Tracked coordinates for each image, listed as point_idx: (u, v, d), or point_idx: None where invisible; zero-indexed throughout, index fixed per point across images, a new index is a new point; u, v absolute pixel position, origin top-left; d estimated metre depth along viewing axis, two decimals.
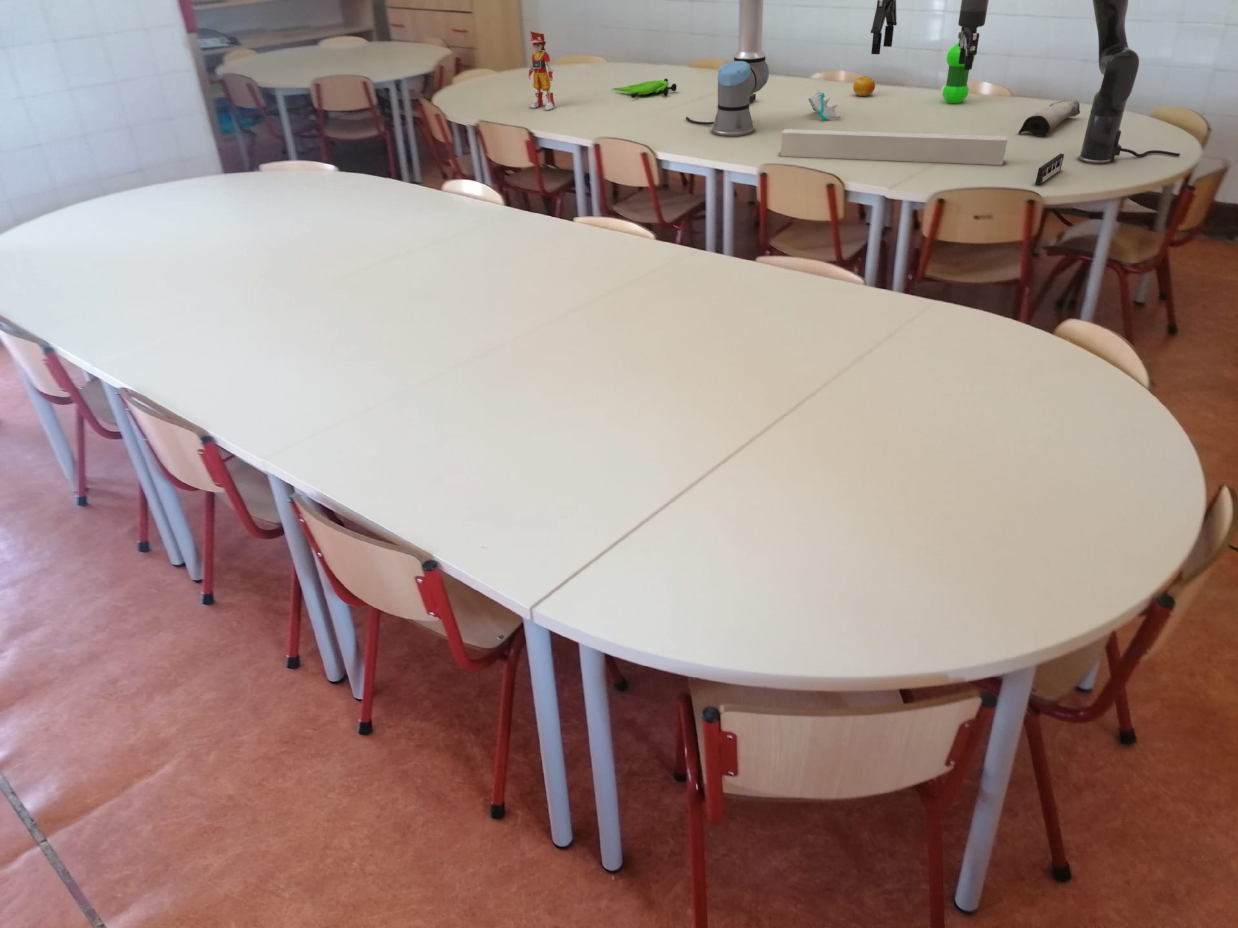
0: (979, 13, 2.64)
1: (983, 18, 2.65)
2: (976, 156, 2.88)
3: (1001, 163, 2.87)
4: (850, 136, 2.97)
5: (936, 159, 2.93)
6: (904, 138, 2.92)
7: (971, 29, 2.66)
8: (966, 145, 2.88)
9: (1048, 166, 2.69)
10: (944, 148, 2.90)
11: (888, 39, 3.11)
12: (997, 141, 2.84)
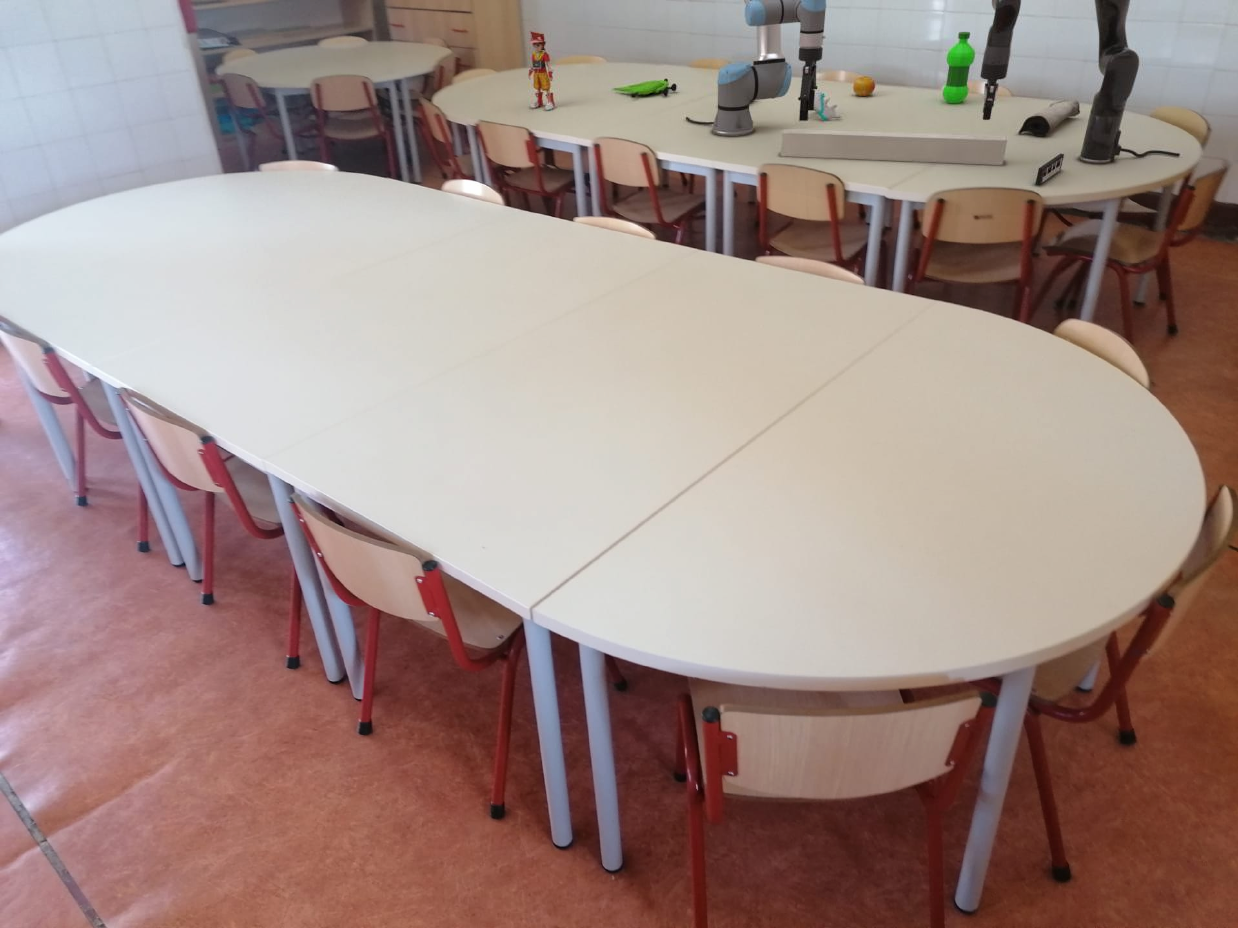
0: (999, 66, 2.71)
1: (1003, 71, 2.72)
2: (976, 156, 2.88)
3: (1001, 163, 2.87)
4: (850, 136, 2.97)
5: (936, 159, 2.93)
6: (904, 138, 2.92)
7: (990, 81, 2.74)
8: (966, 145, 2.88)
9: (1048, 166, 2.69)
10: (944, 148, 2.90)
11: (810, 103, 3.04)
12: (997, 141, 2.84)
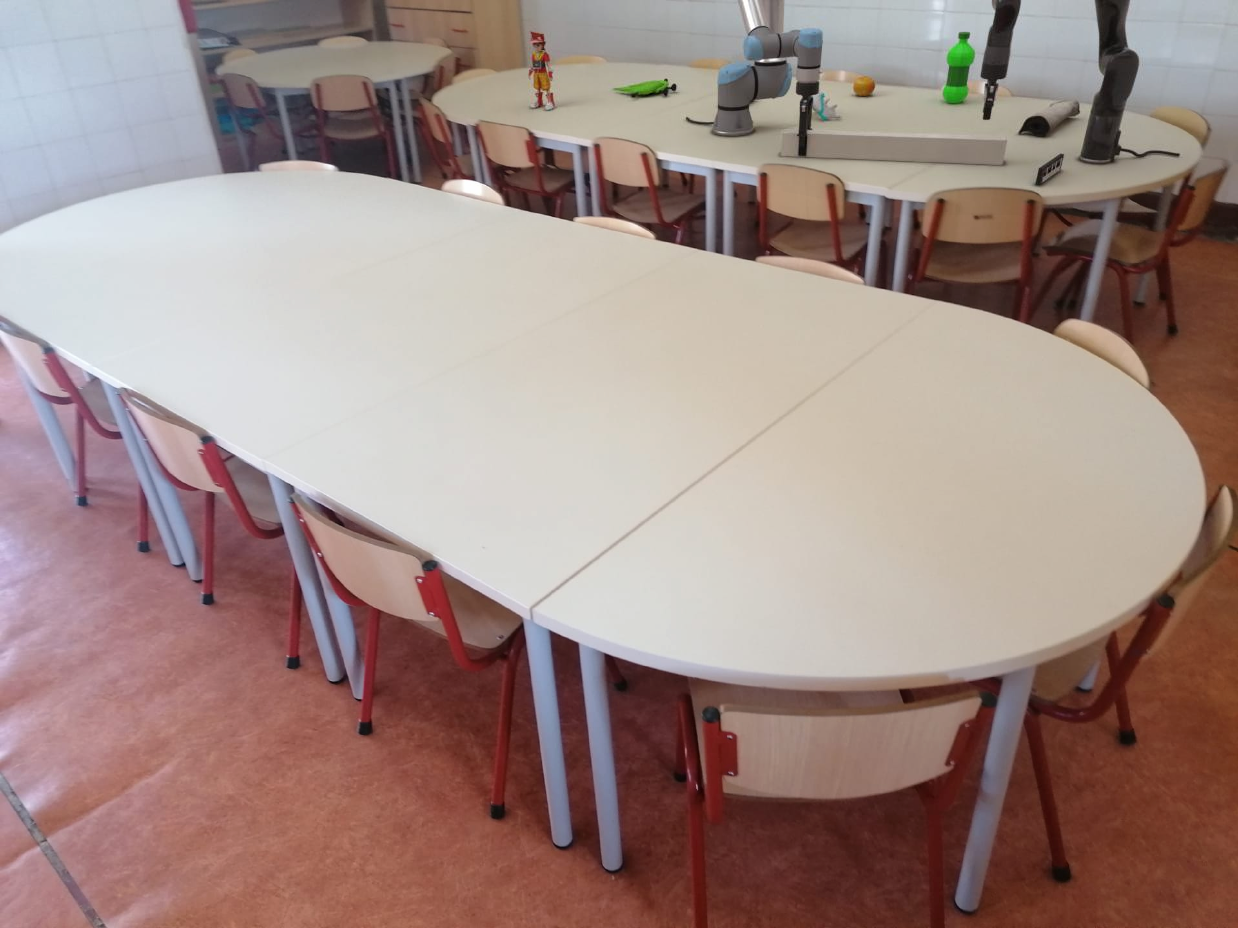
0: (999, 66, 2.71)
1: (1003, 71, 2.72)
2: (976, 156, 2.88)
3: (1001, 163, 2.87)
4: (850, 136, 2.97)
5: (936, 159, 2.93)
6: (904, 138, 2.92)
7: (990, 81, 2.74)
8: (966, 145, 2.88)
9: (1048, 166, 2.69)
10: (944, 148, 2.90)
11: None
12: (997, 141, 2.84)
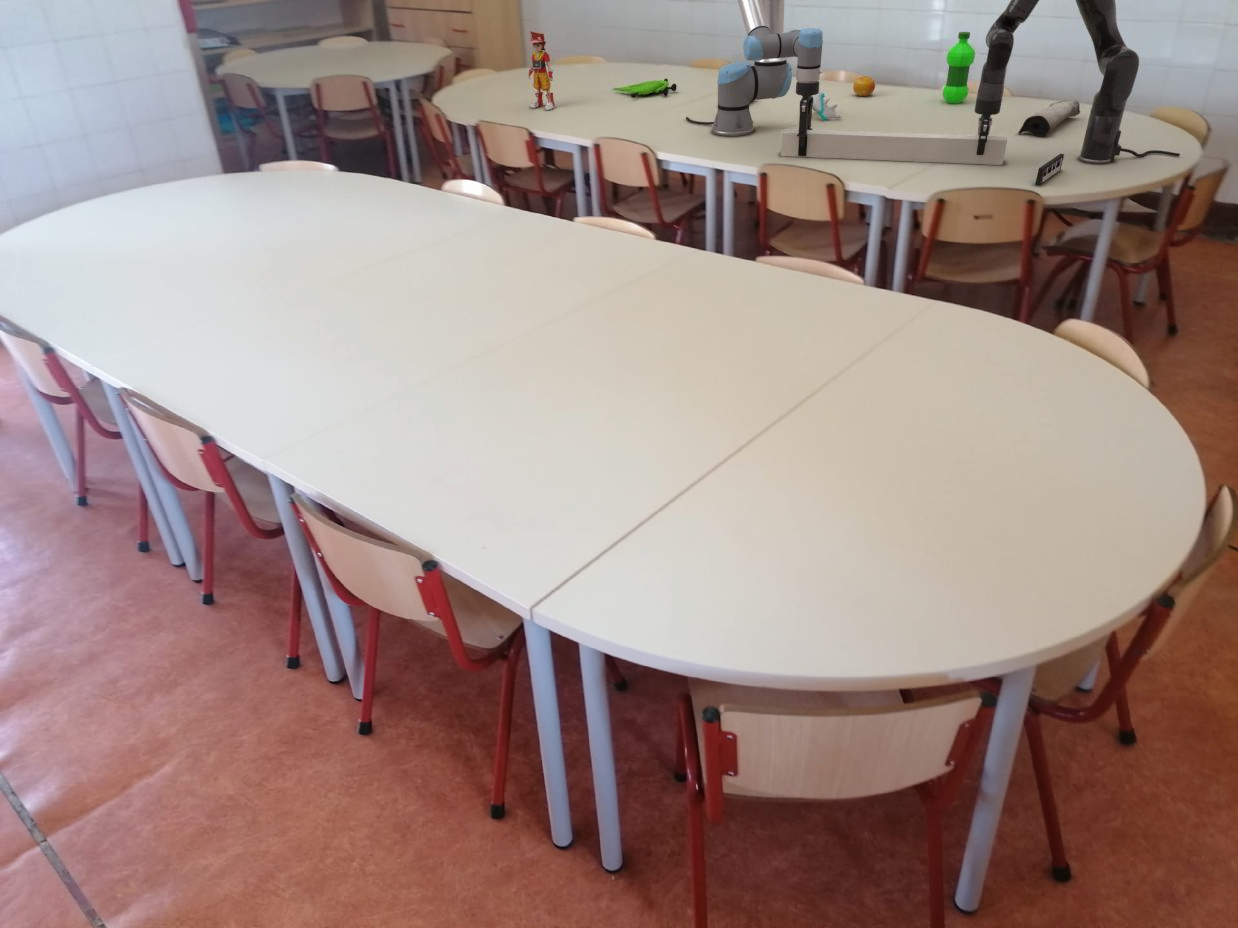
0: (992, 102, 2.77)
1: (997, 107, 2.78)
2: (976, 156, 2.88)
3: (1001, 163, 2.87)
4: (850, 136, 2.97)
5: (936, 159, 2.93)
6: (904, 138, 2.92)
7: (984, 117, 2.80)
8: (966, 145, 2.88)
9: (1048, 166, 2.69)
10: (944, 148, 2.90)
11: None
12: (997, 141, 2.84)
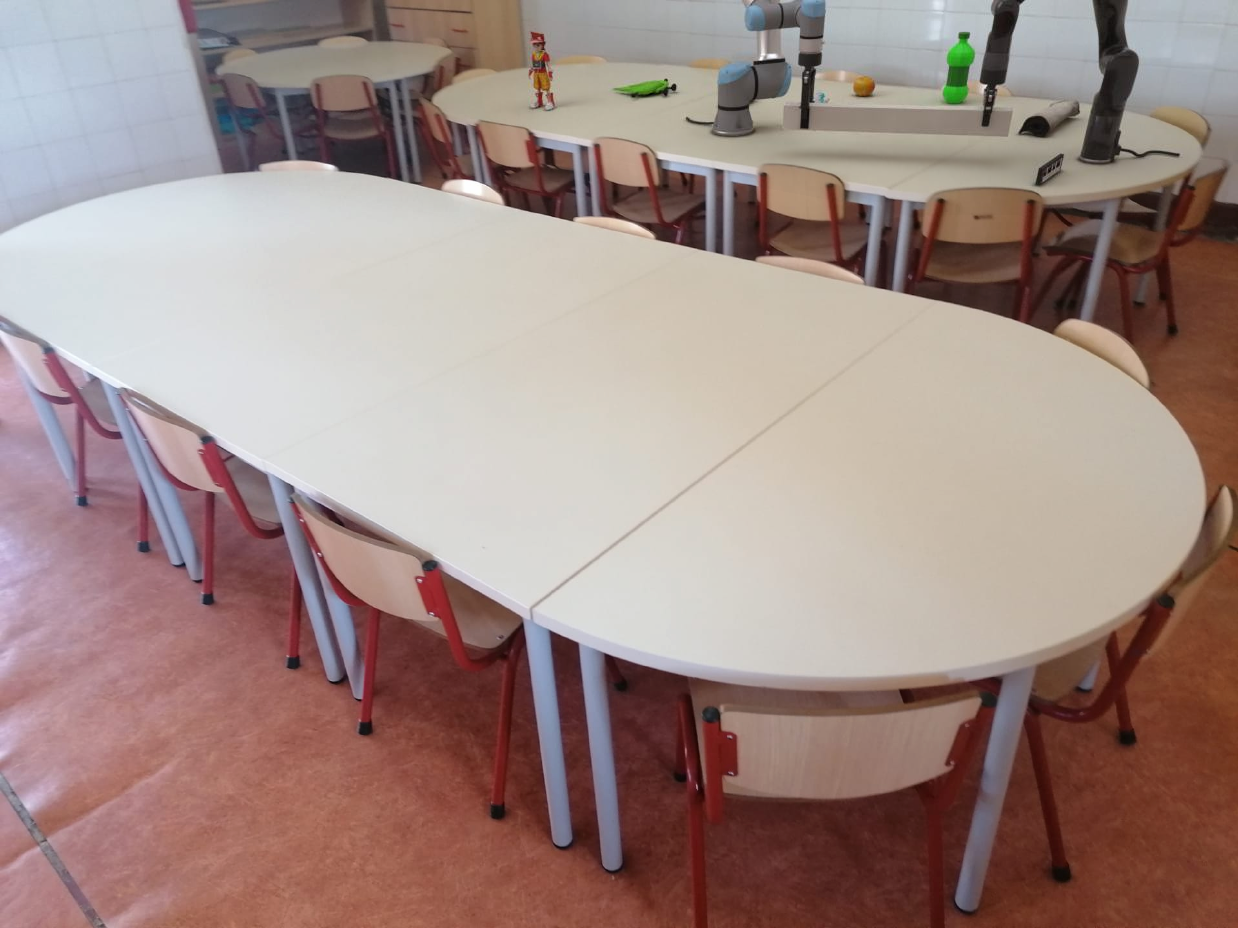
0: (998, 72, 2.73)
1: (1002, 77, 2.74)
2: (981, 128, 2.84)
3: (1006, 135, 2.83)
4: (853, 108, 2.93)
5: (940, 131, 2.89)
6: (908, 110, 2.88)
7: (989, 87, 2.76)
8: (970, 117, 2.83)
9: (1048, 166, 2.69)
10: (949, 120, 2.86)
11: None
12: (1003, 112, 2.80)
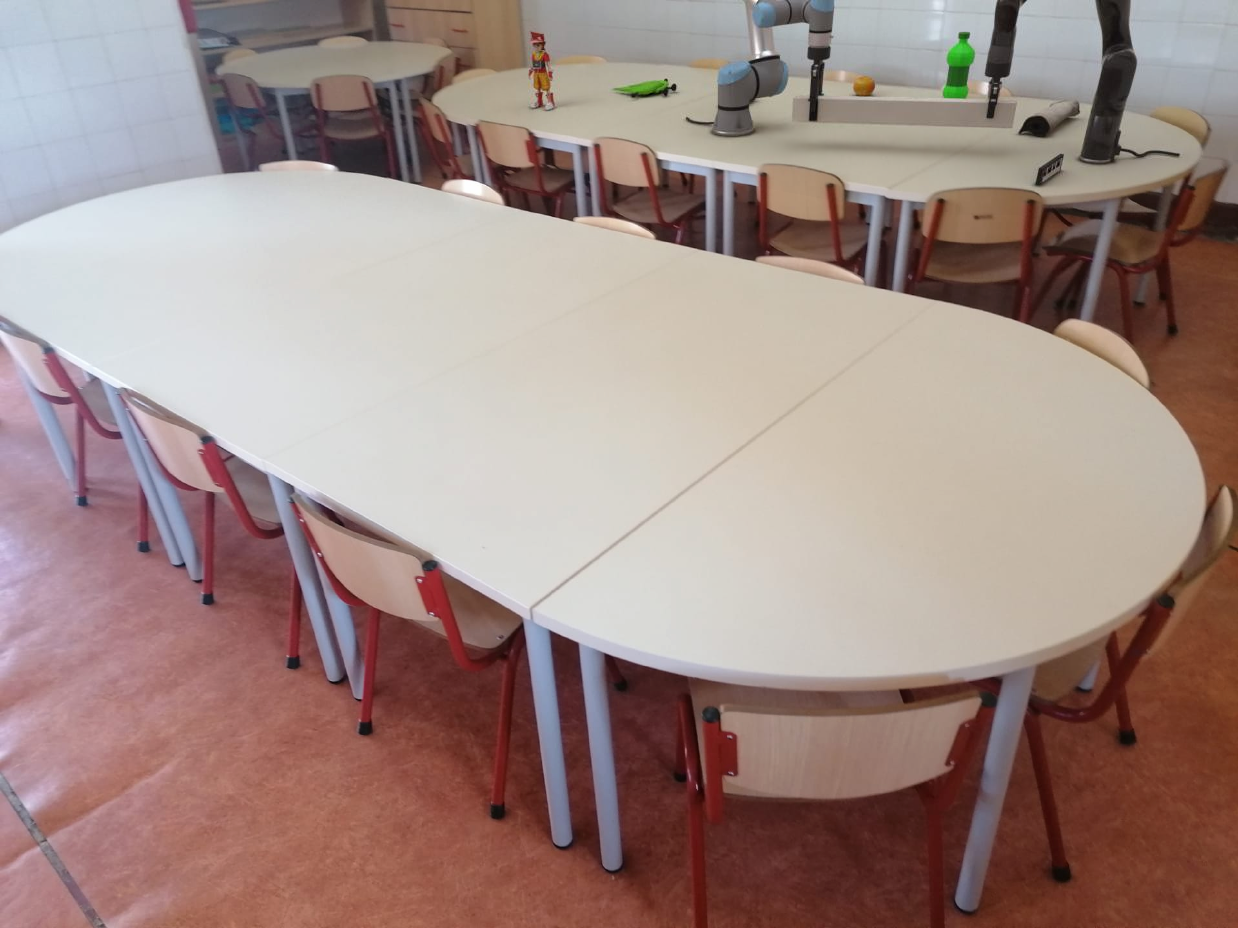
0: (1002, 65, 2.80)
1: (1007, 70, 2.82)
2: (986, 120, 2.91)
3: (1011, 126, 2.90)
4: (861, 101, 3.00)
5: (946, 123, 2.96)
6: (914, 102, 2.95)
7: (994, 79, 2.83)
8: (975, 109, 2.91)
9: (1048, 166, 2.69)
10: (954, 112, 2.93)
11: None
12: (1007, 104, 2.87)
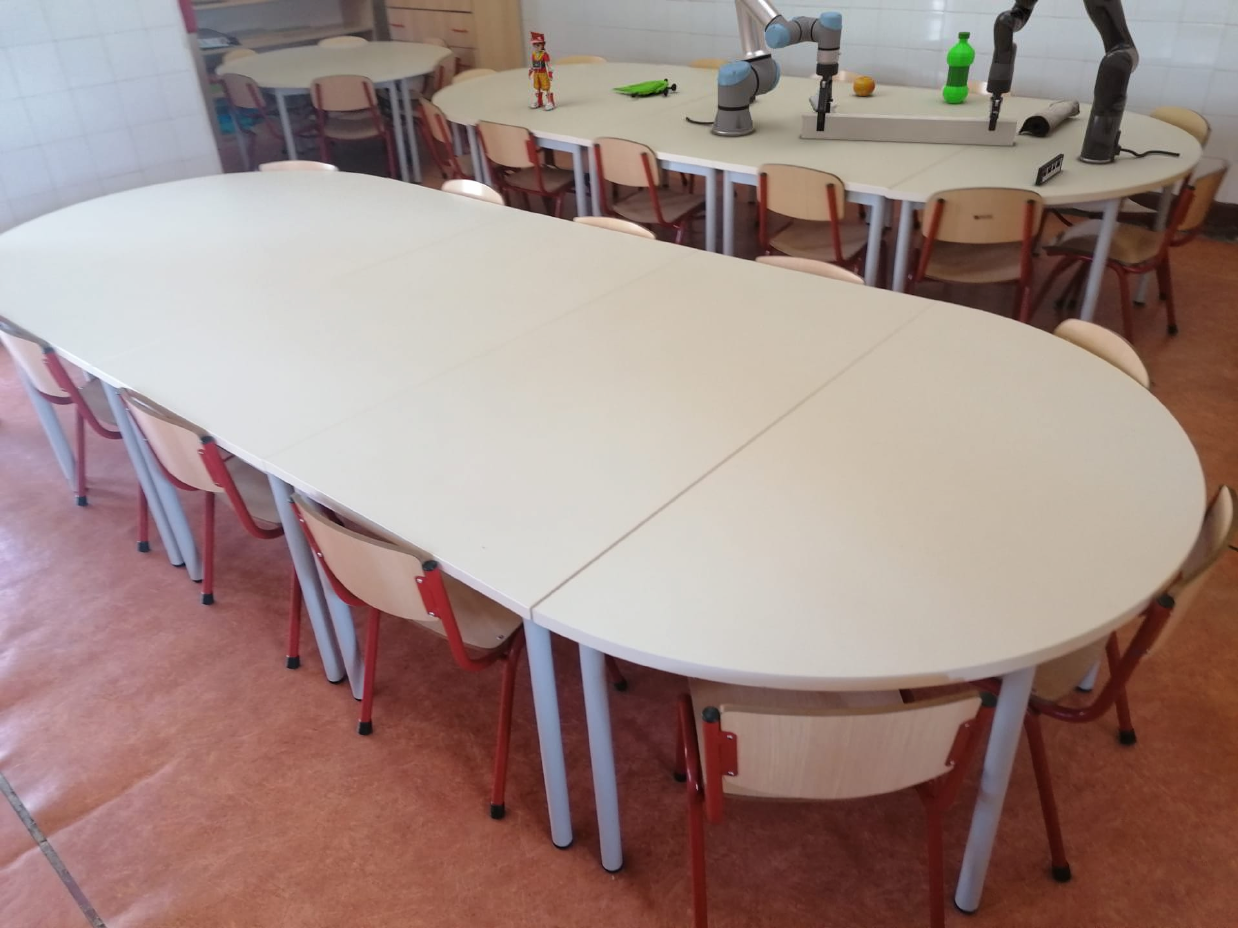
0: (1003, 82, 2.93)
1: (1007, 86, 2.94)
2: (988, 137, 3.05)
3: (1011, 144, 3.04)
4: (868, 119, 3.14)
5: (949, 140, 3.09)
6: (919, 120, 3.09)
7: (996, 95, 2.96)
8: (978, 127, 3.04)
9: (1048, 166, 2.69)
10: (957, 130, 3.06)
11: None
12: (1008, 122, 3.00)
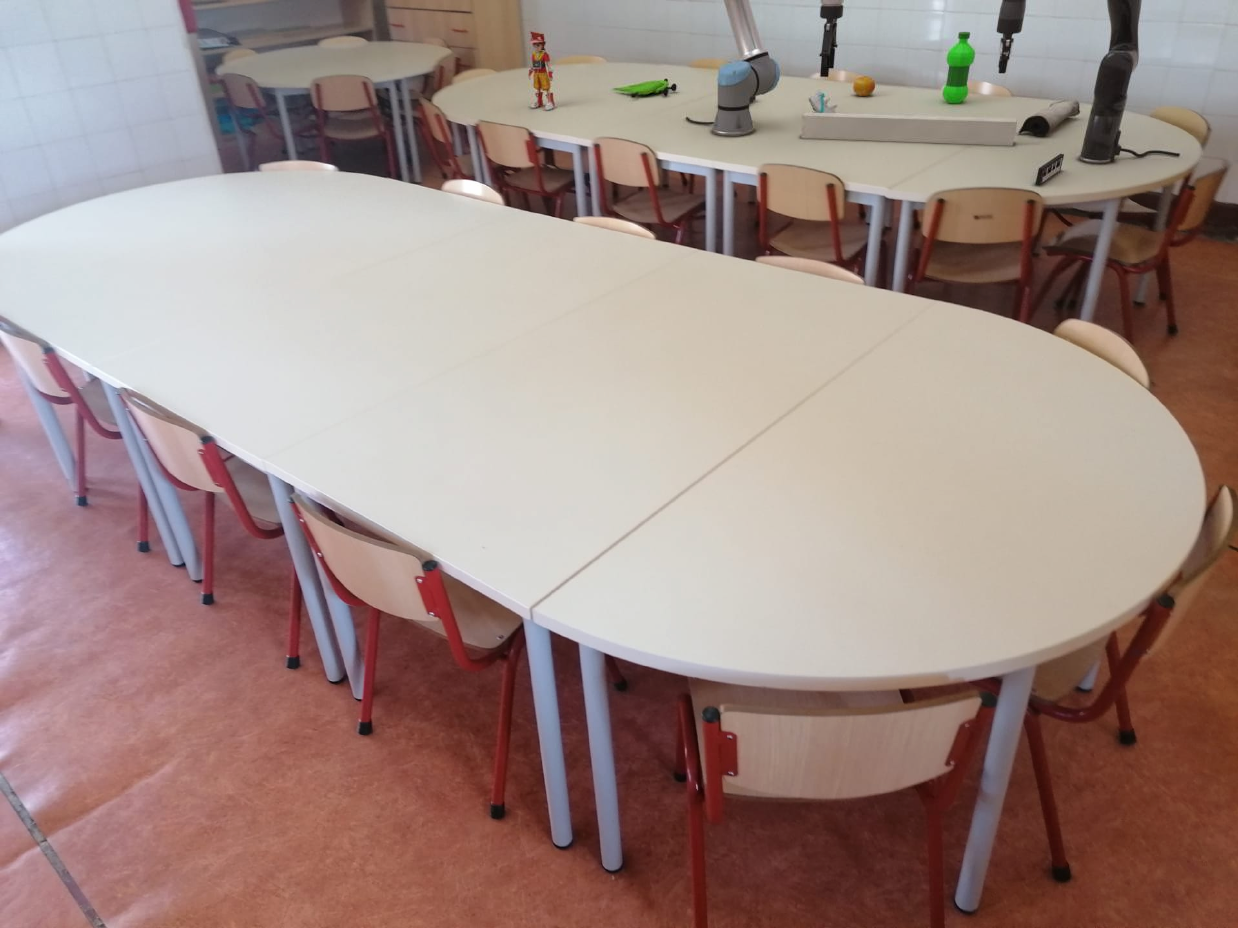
0: (1014, 21, 2.83)
1: (1018, 26, 2.84)
2: (988, 137, 3.05)
3: (1011, 144, 3.04)
4: (868, 118, 3.14)
5: (949, 140, 3.09)
6: (919, 120, 3.09)
7: (1006, 35, 2.86)
8: (978, 127, 3.04)
9: (1048, 166, 2.69)
10: (957, 130, 3.06)
11: (830, 61, 3.15)
12: (1008, 122, 3.00)
